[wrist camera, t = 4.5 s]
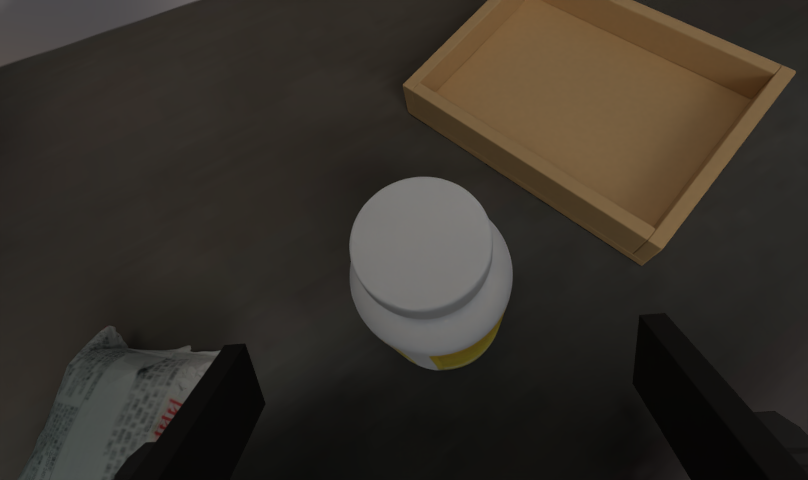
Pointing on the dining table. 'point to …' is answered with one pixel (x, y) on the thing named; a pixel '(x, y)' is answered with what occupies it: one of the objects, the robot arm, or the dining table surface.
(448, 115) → the tray
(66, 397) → the packaged food
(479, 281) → the pill bottle
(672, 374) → the robot arm
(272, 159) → the dining table surface
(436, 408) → the dining table surface
